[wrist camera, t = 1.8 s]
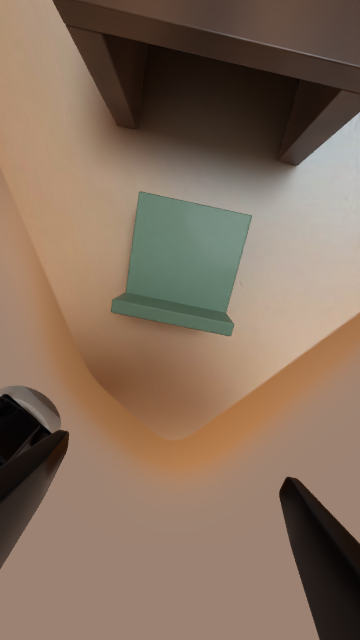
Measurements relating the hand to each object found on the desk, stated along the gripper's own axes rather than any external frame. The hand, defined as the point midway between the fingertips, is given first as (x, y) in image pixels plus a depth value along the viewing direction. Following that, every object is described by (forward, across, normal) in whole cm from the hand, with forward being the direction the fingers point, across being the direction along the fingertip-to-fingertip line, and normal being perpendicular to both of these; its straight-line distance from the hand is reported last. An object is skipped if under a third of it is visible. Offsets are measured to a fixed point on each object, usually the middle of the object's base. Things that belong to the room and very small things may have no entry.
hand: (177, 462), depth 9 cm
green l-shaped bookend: (+11, +2, -8) cm, 13 cm away
